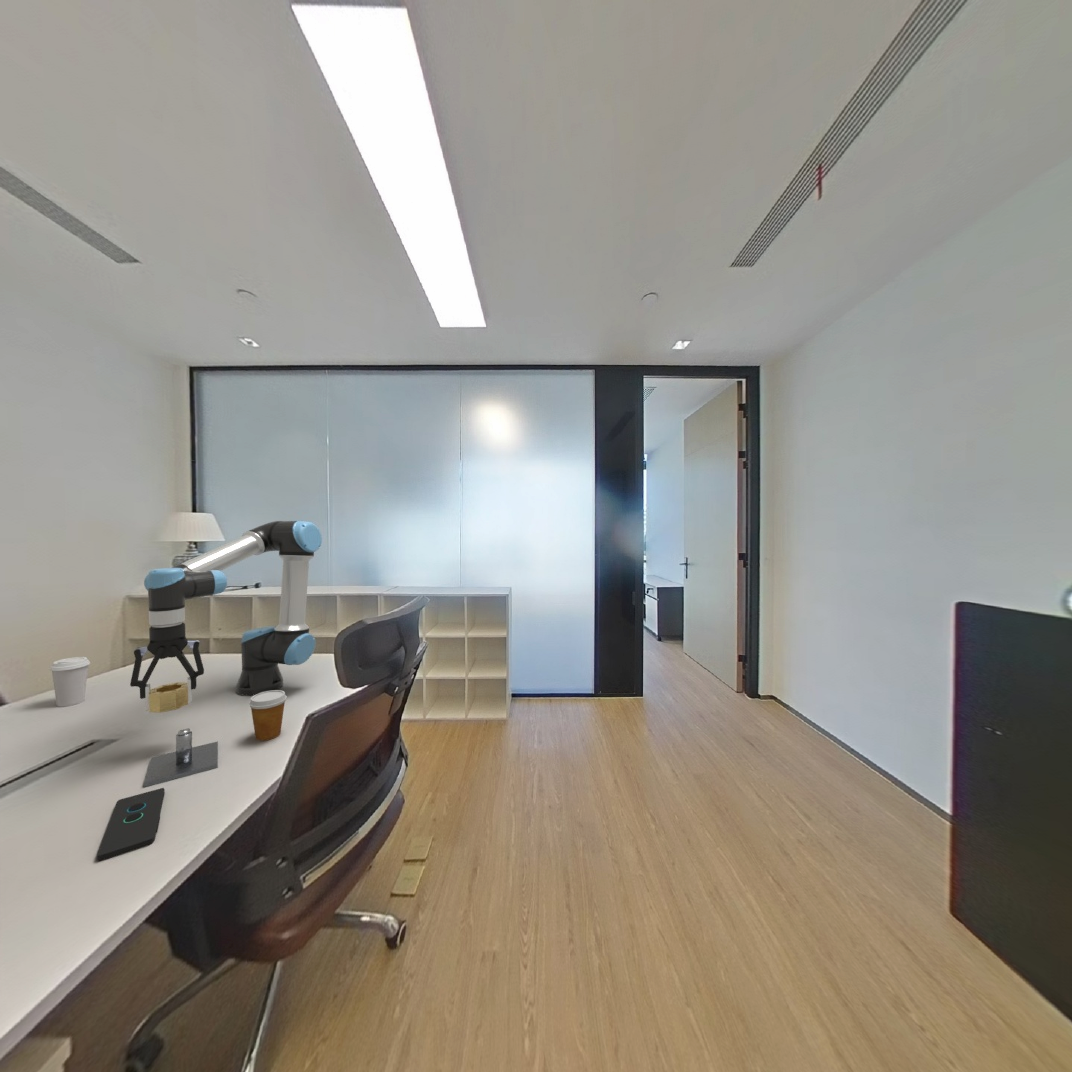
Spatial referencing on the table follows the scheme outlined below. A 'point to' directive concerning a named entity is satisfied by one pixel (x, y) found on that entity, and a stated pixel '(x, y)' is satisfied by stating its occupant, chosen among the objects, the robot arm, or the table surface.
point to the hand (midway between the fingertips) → (169, 704)
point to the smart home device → (132, 824)
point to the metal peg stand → (182, 760)
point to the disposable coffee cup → (267, 713)
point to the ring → (168, 697)
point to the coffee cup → (70, 680)
